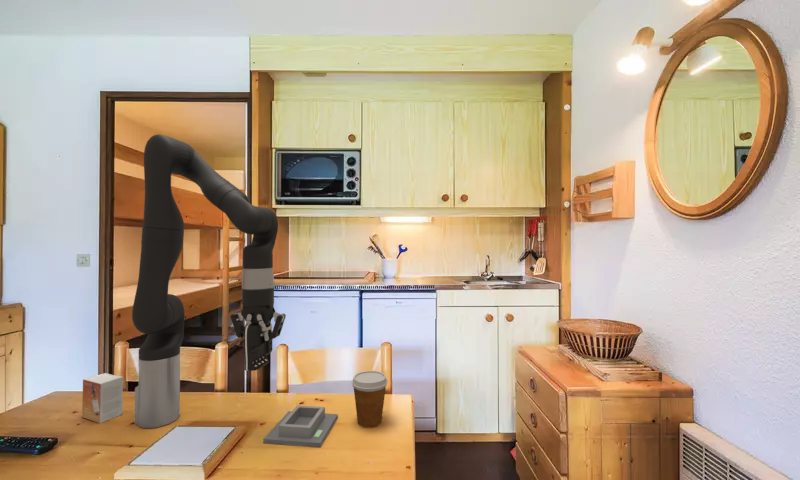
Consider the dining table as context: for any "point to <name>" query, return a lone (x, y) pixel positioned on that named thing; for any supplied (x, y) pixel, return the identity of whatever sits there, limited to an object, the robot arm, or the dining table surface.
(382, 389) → the disposable coffee cup
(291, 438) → the dock
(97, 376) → the small box
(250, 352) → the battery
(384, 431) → the dining table surface
